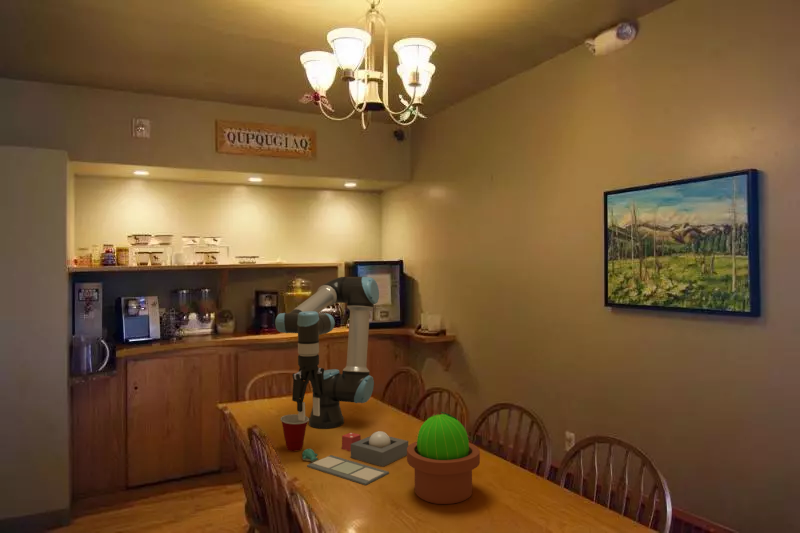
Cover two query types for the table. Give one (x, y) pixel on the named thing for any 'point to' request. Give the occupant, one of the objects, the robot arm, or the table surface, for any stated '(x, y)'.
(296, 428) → the plastic cup
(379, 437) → the white ball
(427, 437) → the potted cactus
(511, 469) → the table surface
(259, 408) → the table surface
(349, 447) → the red die
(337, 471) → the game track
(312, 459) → the turtle figurine
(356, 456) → the dome collar
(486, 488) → the table surface
